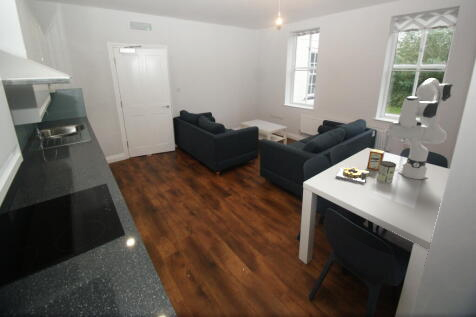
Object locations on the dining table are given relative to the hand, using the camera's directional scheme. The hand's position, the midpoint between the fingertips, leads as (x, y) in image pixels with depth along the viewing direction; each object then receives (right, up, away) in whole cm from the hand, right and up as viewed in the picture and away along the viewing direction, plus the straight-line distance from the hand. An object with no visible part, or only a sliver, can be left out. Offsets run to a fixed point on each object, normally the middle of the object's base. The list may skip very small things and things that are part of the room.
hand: (401, 142), depth 155 cm
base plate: (-18, -25, +30) cm, 43 cm away
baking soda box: (+7, -19, +43) cm, 48 cm away
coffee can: (+3, -28, +23) cm, 36 cm away
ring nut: (-16, -23, +28) cm, 40 cm away
